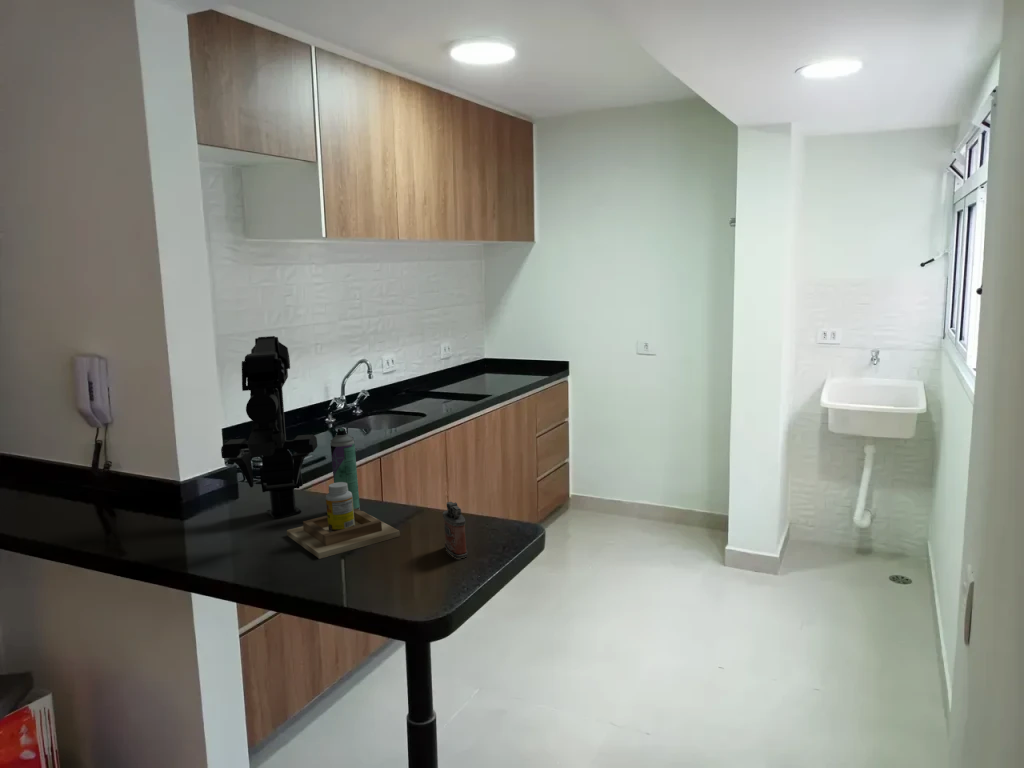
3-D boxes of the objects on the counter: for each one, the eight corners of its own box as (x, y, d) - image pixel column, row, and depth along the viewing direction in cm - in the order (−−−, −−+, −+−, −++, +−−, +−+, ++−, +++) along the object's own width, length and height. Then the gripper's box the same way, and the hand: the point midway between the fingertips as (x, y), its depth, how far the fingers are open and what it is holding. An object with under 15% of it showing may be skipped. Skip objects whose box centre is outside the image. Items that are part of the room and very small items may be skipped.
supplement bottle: (331, 526, 163) (327, 481, 162) (357, 525, 163) (353, 480, 162) (326, 535, 158) (322, 489, 156) (352, 534, 158) (348, 487, 156)
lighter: (441, 547, 151) (438, 499, 150) (457, 544, 153) (454, 497, 151) (454, 560, 144) (451, 511, 142) (471, 557, 145) (468, 507, 144)
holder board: (287, 535, 163) (285, 521, 162) (363, 516, 173) (362, 502, 173) (319, 558, 148) (317, 543, 148) (400, 536, 159) (398, 521, 158)
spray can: (350, 506, 181) (343, 425, 178) (364, 509, 178) (358, 427, 175) (331, 512, 177) (324, 430, 174) (346, 516, 174) (339, 432, 170)
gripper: (208, 424, 148) (217, 500, 151) (304, 418, 149) (311, 493, 152) (225, 413, 159) (233, 484, 162) (314, 408, 160) (320, 478, 163)
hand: (274, 485), depth 159 cm, fingers open, 9 cm apart
